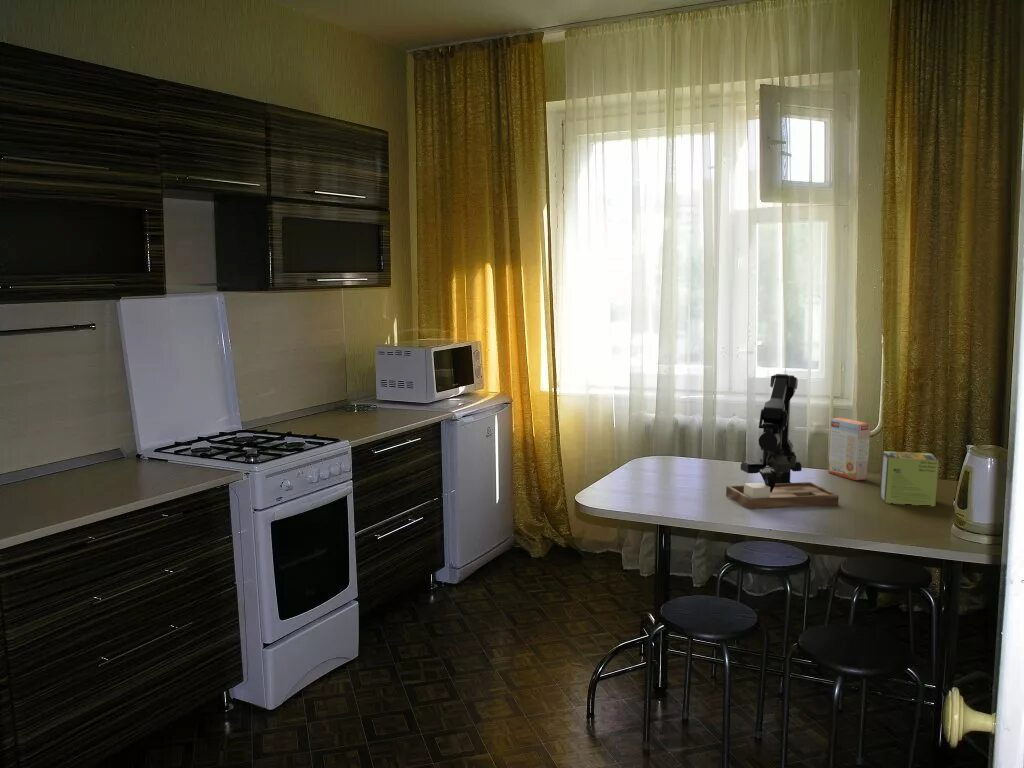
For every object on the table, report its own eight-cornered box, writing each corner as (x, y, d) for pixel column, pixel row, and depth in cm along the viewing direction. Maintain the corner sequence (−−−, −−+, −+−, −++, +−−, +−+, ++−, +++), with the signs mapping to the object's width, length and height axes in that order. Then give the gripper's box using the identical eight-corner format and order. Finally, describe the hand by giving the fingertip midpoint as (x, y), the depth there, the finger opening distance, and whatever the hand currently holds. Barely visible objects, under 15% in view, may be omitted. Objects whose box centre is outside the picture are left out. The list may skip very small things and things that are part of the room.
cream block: (743, 495, 280) (744, 483, 280) (760, 494, 281) (761, 482, 281) (752, 500, 274) (752, 488, 274) (769, 499, 276) (770, 487, 275)
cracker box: (868, 480, 312) (871, 423, 309) (855, 481, 310) (858, 424, 307) (840, 471, 325) (843, 416, 322) (827, 472, 323) (830, 417, 320)
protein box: (936, 506, 278) (939, 459, 276) (884, 503, 281) (888, 457, 279) (928, 498, 288) (931, 453, 286) (879, 495, 291) (882, 450, 289)
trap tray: (726, 495, 289) (726, 485, 289) (810, 491, 296) (810, 482, 295) (749, 509, 273) (750, 499, 272) (838, 504, 279) (838, 495, 279)
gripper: (757, 451, 267) (755, 500, 269) (812, 449, 270) (809, 497, 273) (740, 444, 277) (738, 491, 280) (793, 441, 281) (791, 488, 283)
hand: (769, 492), depth 278 cm, fingers closed
